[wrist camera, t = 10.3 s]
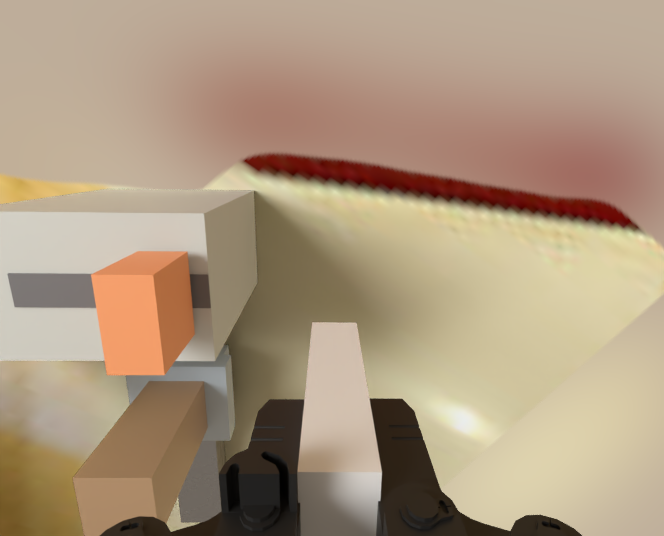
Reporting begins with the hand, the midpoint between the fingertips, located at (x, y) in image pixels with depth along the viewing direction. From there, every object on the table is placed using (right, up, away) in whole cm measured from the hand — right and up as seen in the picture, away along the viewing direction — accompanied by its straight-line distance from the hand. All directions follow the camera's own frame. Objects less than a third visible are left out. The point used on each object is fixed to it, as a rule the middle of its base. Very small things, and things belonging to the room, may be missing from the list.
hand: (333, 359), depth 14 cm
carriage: (-13, -7, +23) cm, 27 cm away
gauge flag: (-8, +2, +7) cm, 11 cm away
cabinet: (-13, +6, +20) cm, 24 cm away
